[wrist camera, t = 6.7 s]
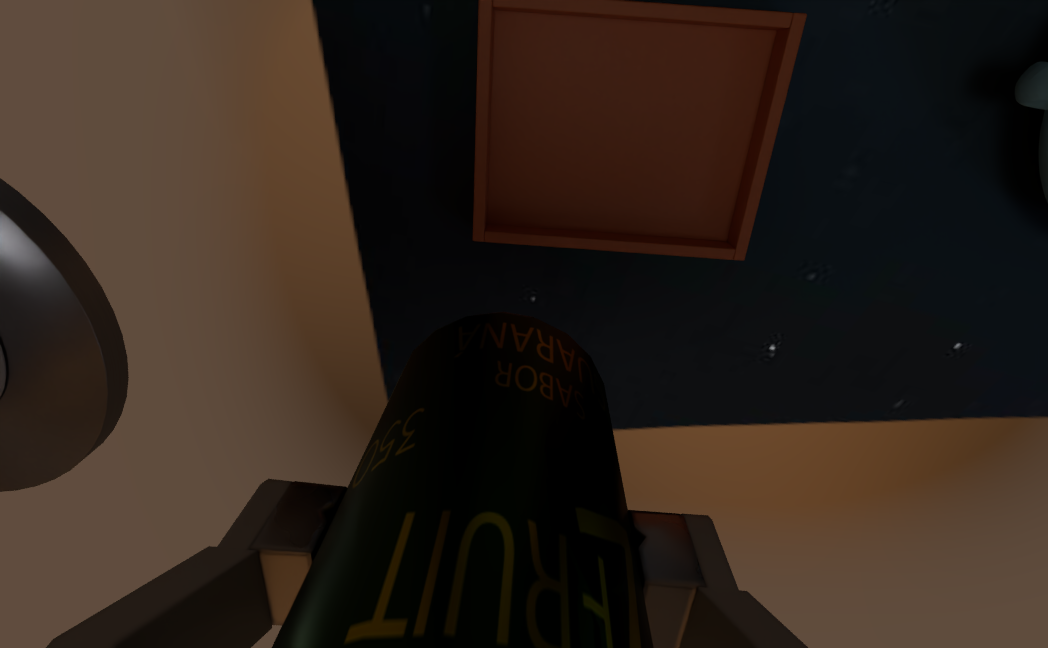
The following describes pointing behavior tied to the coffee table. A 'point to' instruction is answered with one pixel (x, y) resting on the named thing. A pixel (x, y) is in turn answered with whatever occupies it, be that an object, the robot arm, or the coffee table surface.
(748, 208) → the terracotta tray
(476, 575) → the beer can
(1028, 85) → the teapot
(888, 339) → the coffee table surface
